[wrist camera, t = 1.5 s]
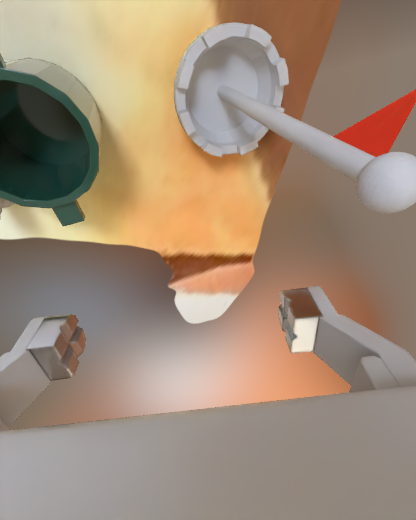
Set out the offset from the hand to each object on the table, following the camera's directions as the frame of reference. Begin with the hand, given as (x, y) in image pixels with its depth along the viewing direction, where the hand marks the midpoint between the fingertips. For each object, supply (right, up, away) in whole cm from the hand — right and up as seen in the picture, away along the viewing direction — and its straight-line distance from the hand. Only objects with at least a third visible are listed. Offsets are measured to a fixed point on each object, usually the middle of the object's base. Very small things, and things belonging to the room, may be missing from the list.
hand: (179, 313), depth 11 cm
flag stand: (+3, +24, +24) cm, 34 cm away
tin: (-17, +18, +21) cm, 33 cm away
